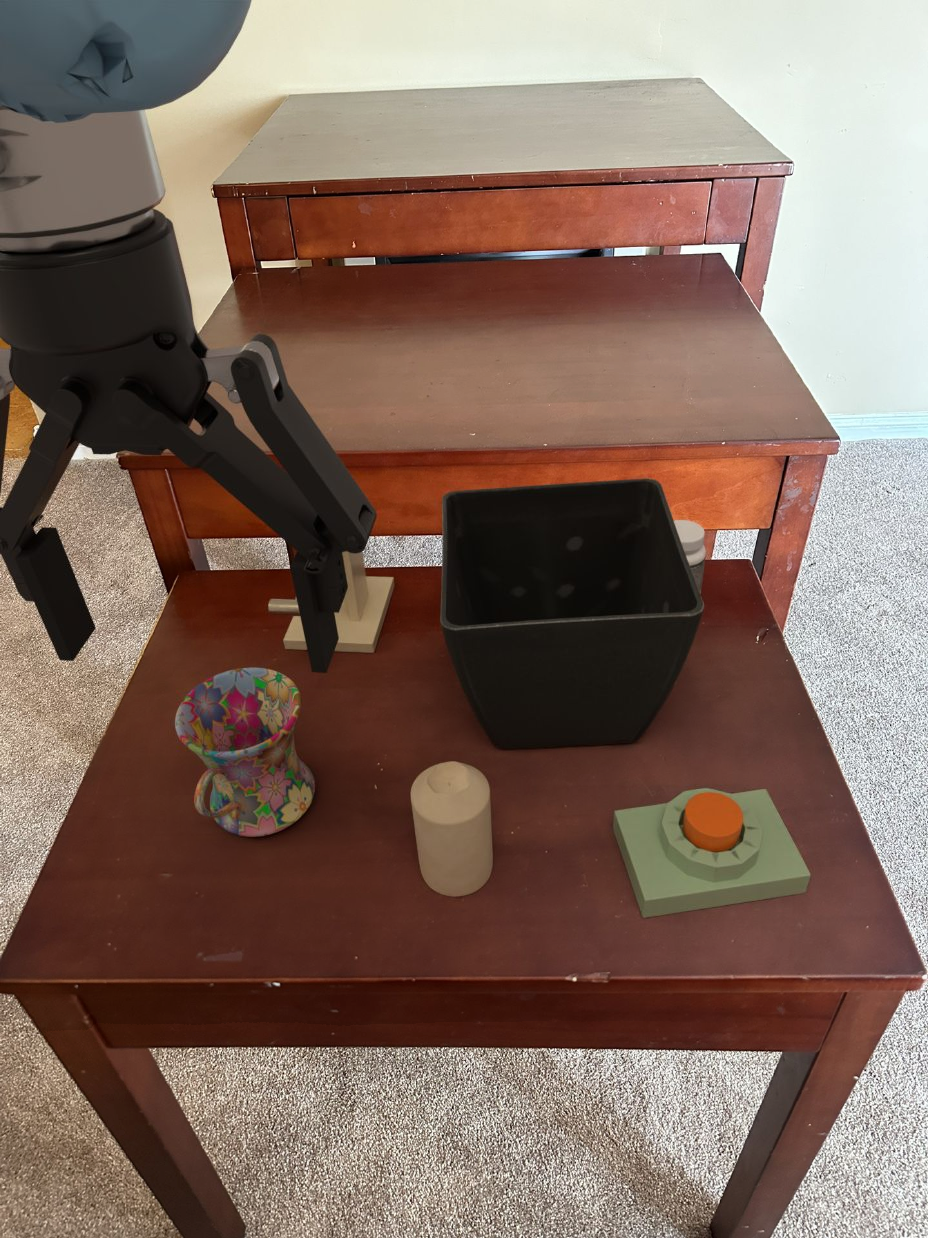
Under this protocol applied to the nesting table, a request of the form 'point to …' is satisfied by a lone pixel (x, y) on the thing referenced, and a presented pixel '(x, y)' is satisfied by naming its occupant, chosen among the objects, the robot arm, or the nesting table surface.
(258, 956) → the nesting table surface
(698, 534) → the pill bottle
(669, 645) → the flower pot
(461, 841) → the candle
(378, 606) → the bracket
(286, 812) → the mug
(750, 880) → the control block
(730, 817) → the button
